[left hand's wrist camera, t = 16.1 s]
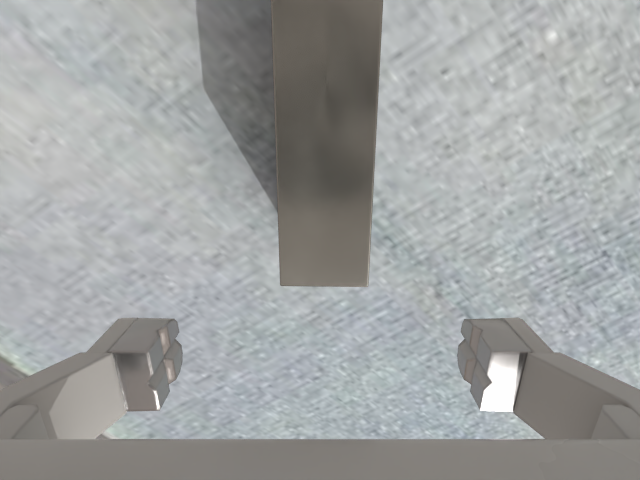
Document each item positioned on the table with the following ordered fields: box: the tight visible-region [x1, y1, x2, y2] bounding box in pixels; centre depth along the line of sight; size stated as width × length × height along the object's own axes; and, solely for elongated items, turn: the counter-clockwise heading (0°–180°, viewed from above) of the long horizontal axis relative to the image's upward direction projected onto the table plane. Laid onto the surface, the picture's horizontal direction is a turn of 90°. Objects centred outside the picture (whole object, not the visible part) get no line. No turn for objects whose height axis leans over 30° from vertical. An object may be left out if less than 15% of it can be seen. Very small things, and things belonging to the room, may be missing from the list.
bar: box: [271, 0, 383, 287], centre depth 23 cm, size 23×6×9 cm, turn 0°
